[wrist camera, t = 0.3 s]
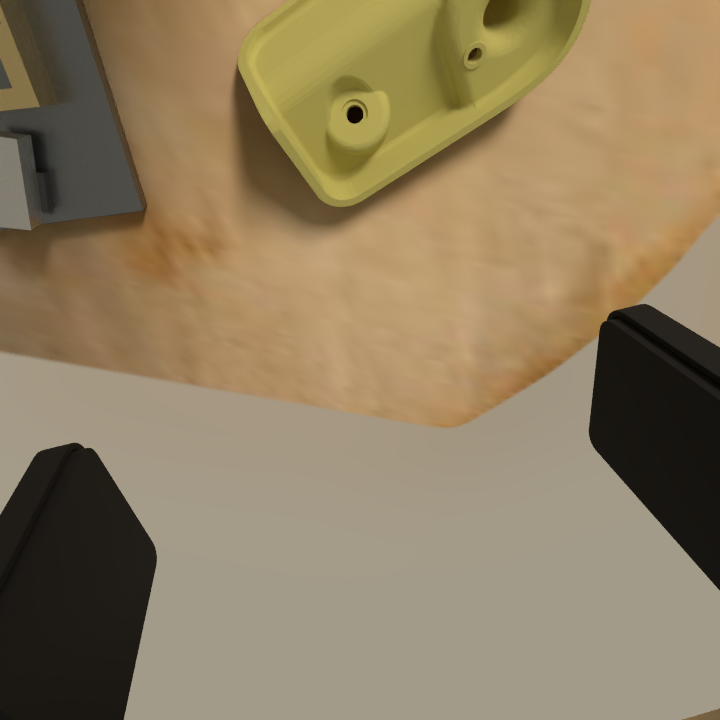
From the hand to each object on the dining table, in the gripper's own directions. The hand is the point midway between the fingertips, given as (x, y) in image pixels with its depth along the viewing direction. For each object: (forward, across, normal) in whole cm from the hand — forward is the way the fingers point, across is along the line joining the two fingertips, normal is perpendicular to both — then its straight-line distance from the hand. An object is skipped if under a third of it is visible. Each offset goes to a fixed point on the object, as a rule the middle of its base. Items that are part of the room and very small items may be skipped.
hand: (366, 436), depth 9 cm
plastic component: (+31, -9, -5) cm, 33 cm away
